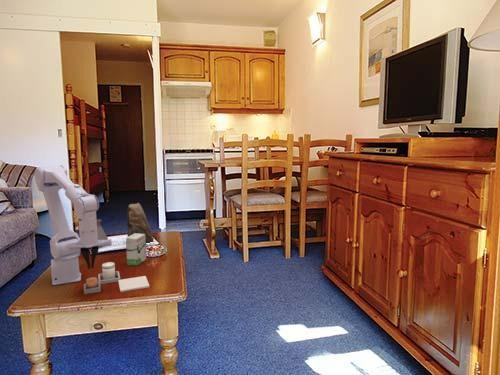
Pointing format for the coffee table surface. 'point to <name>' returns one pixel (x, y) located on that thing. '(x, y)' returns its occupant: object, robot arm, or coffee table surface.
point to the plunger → (91, 282)
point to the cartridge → (108, 270)
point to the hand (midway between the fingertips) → (90, 267)
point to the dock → (98, 288)
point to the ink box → (136, 249)
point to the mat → (133, 283)
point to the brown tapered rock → (138, 222)
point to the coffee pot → (100, 231)
